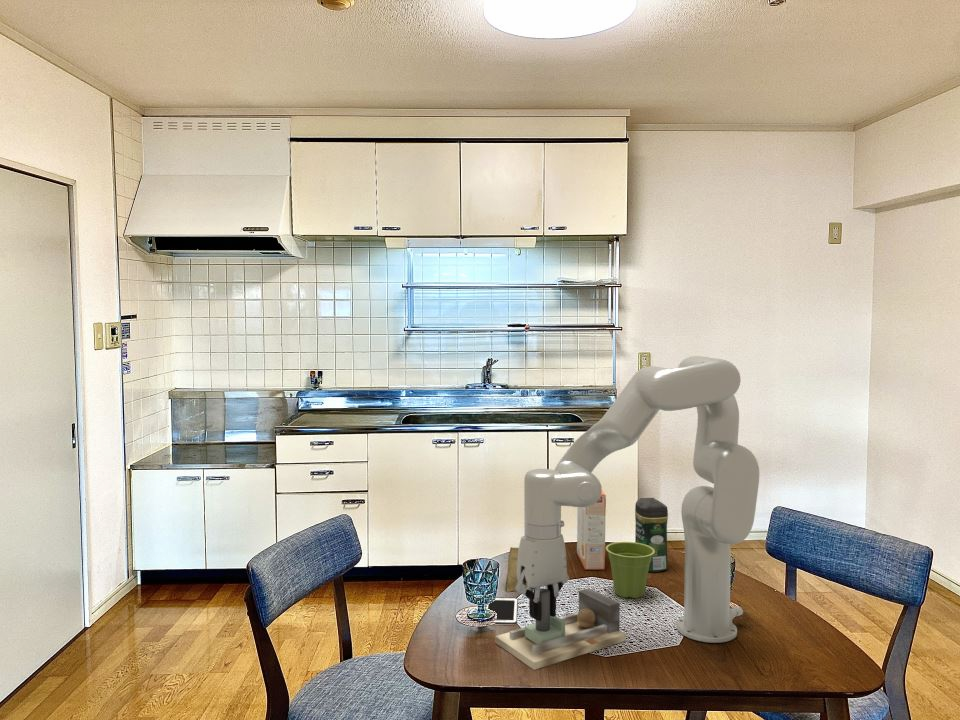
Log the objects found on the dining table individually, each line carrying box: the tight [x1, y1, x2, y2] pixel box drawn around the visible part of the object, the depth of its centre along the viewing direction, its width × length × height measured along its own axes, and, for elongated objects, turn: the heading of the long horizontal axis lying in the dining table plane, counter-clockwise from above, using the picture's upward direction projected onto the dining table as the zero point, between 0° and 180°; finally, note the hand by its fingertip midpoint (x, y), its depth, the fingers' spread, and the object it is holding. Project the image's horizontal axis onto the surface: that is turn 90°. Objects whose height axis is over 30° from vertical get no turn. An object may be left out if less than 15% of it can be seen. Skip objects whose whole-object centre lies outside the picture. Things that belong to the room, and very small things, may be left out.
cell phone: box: [487, 596, 519, 625], centre depth 173 cm, size 8×15×1 cm, turn 176°
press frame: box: [494, 587, 627, 671], centre depth 157 cm, size 24×14×8 cm, turn 122°
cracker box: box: [576, 490, 607, 571], centre depth 206 cm, size 14×6×21 cm, turn 1°
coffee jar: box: [634, 497, 669, 573], centre depth 202 cm, size 10×8×19 cm
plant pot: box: [605, 541, 655, 599], centre depth 183 cm, size 12×12×11 cm
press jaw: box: [524, 587, 565, 644], centre depth 154 cm, size 6×6×10 cm
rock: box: [505, 546, 527, 593], centre depth 188 cm, size 11×9×10 cm
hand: (542, 615), depth 154 cm, fingers closed on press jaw, 3 cm apart
